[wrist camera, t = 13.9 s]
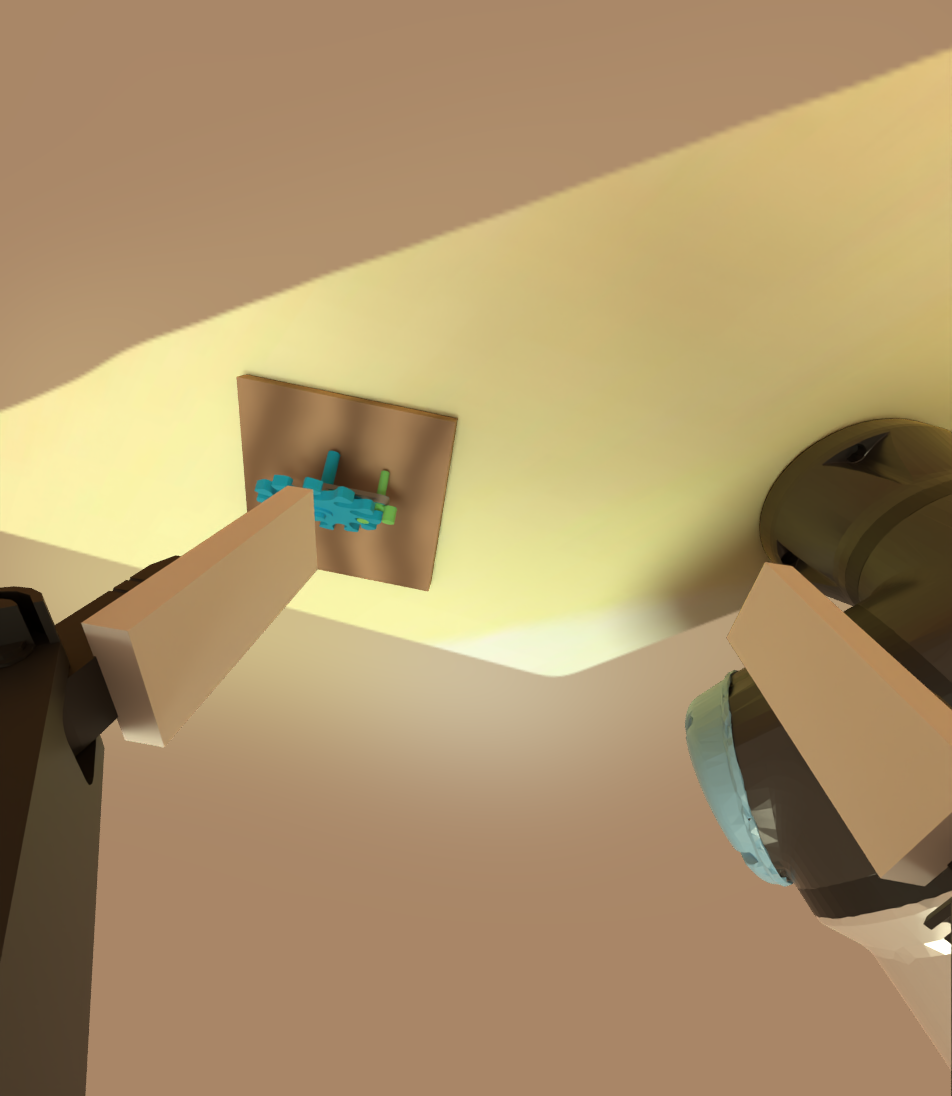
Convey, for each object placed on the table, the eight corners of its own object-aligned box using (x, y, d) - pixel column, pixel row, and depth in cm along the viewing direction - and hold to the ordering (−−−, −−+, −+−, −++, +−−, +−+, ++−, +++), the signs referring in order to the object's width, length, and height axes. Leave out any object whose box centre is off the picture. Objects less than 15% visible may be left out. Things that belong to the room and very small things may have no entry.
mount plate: (457, 418, 36) (455, 422, 35) (430, 583, 45) (428, 591, 43) (246, 374, 36) (236, 376, 35) (258, 548, 44) (250, 555, 43)
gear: (269, 524, 39) (233, 482, 30) (285, 466, 41) (256, 407, 31) (391, 547, 41) (394, 513, 31) (402, 489, 43) (408, 441, 33)
